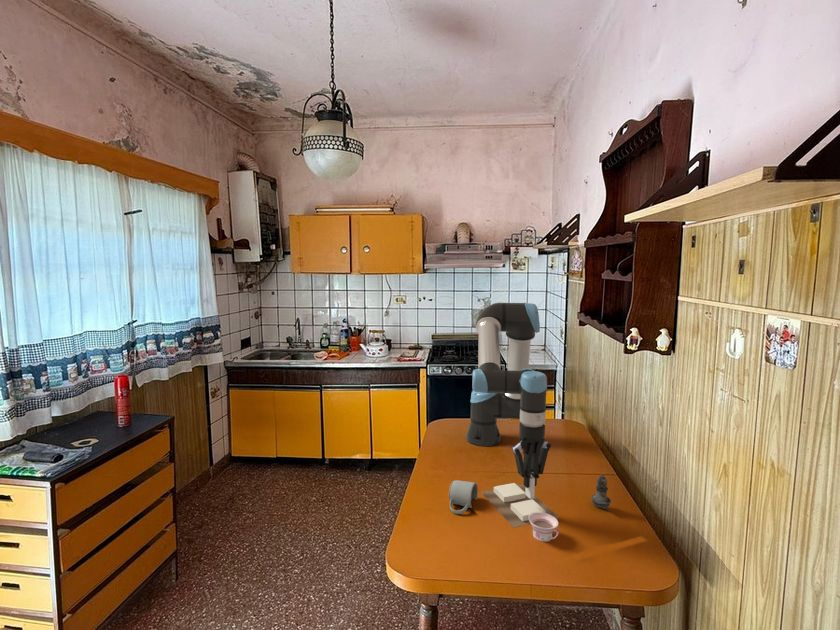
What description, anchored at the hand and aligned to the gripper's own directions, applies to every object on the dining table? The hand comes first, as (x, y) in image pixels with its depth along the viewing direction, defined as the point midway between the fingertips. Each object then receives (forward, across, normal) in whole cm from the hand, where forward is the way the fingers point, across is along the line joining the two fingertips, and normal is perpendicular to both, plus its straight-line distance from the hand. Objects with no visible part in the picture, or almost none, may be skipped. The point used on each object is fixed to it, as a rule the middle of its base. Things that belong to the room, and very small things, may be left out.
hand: (529, 496), depth 133 cm
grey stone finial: (+7, +24, -4) cm, 25 cm away
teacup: (+7, -3, -11) cm, 13 cm away
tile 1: (+4, +3, +11) cm, 12 cm away
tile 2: (+4, +3, 0) cm, 6 cm away
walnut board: (+7, -1, +5) cm, 9 cm away
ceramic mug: (+7, -17, +12) cm, 22 cm away
